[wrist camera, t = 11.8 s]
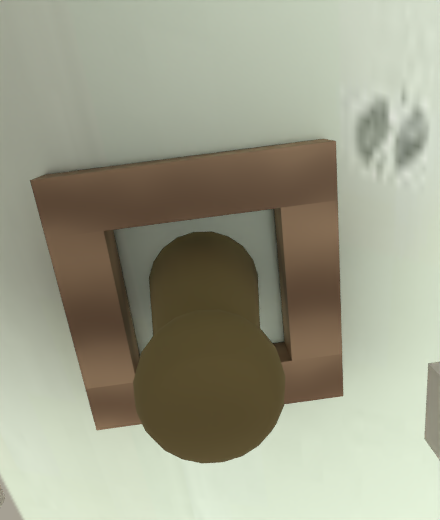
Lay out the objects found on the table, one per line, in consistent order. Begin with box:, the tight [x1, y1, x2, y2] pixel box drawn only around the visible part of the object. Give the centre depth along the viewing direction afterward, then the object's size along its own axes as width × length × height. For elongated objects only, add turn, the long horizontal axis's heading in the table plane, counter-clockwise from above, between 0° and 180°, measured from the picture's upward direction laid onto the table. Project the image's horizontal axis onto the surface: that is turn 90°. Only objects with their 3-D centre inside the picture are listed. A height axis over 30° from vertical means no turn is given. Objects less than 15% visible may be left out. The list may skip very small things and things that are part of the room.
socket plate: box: [30, 139, 343, 430], centre depth 22 cm, size 14×14×2 cm
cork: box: [133, 232, 285, 463], centre depth 18 cm, size 6×6×11 cm
